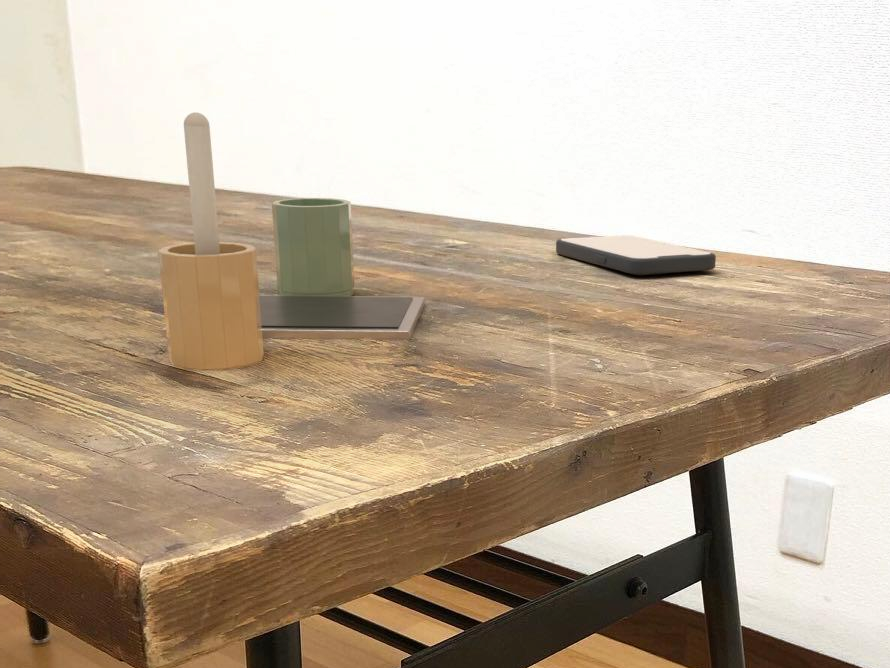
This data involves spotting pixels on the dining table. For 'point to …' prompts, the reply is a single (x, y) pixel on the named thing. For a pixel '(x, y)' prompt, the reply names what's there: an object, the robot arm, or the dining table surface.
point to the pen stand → (211, 306)
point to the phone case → (636, 254)
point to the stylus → (201, 184)
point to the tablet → (338, 317)
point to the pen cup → (313, 247)
